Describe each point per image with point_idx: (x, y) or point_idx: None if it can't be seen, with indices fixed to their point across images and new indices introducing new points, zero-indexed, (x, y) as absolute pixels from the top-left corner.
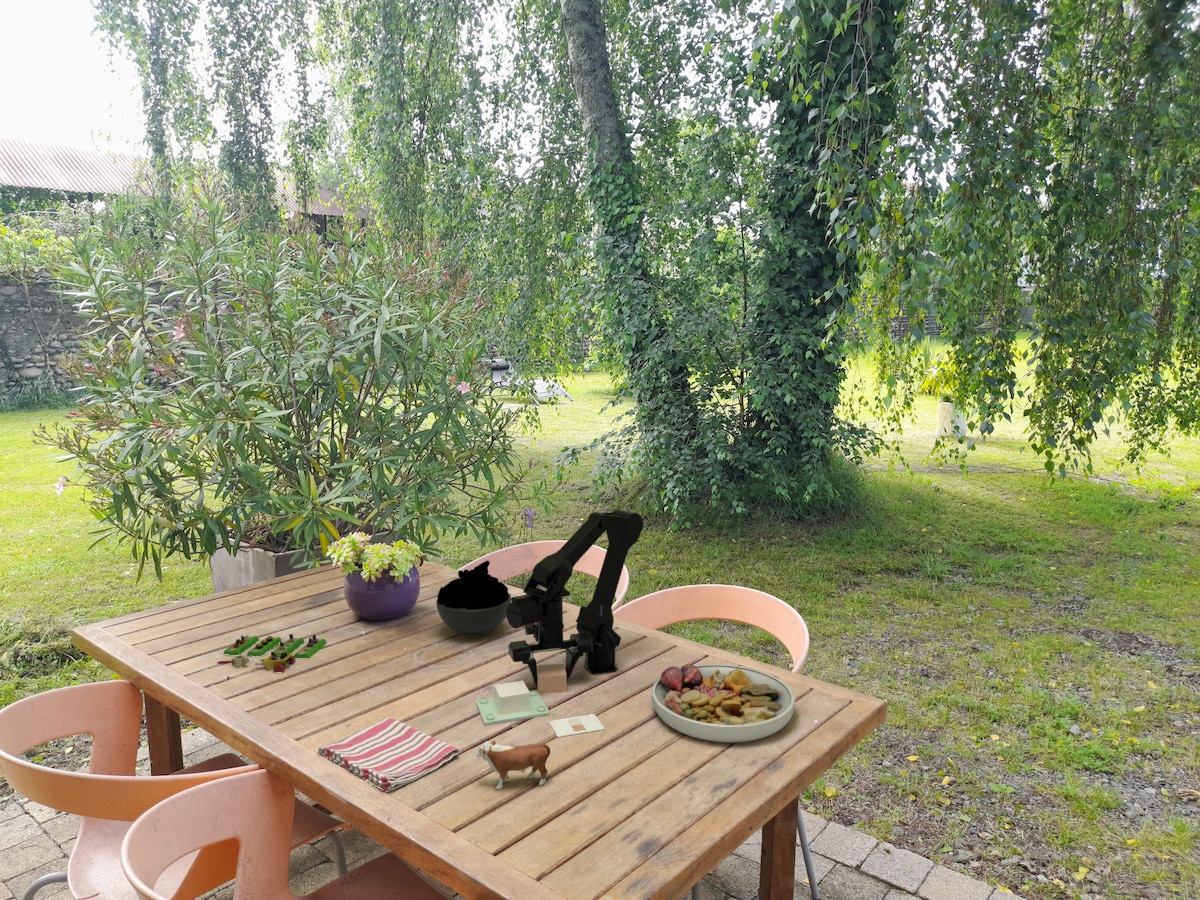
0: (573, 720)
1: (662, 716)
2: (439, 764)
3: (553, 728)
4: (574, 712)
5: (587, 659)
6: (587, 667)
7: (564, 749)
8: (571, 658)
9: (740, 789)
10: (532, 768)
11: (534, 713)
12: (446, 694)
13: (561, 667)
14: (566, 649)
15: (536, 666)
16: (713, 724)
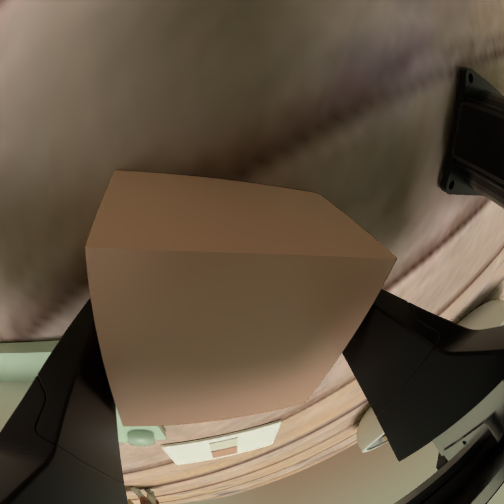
0: (222, 444)
1: (360, 435)
2: None
3: (170, 456)
4: (238, 420)
5: (495, 172)
6: (458, 153)
7: (183, 471)
8: (391, 446)
9: (327, 455)
10: (139, 498)
11: (120, 440)
12: None
13: (340, 325)
14: (483, 389)
15: (126, 497)
16: (376, 447)
